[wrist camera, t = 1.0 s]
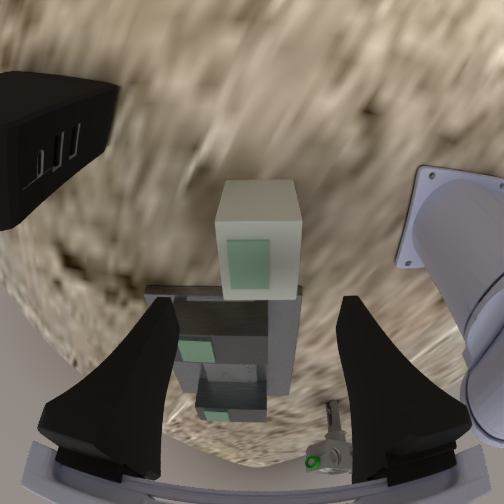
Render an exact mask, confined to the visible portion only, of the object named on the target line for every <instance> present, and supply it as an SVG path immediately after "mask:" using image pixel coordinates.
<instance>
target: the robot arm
mask: <svg viewBox="0 0 504 504" xmlns="http://www.w3.org/2000/svg"><path fill="white" fill-rule="evenodd" d="M431 172H433V174H432V176H431V177H429V174H430V173H431ZM500 184H501V185H500ZM407 261H409V262H408V263H406V262H407ZM395 263H396V265H397V267H398V268H426V269H427V271H428V272H429V274H430V276H431V277H432V279H433V281H434V283H435V284H436V286H437V288H438V290H439V292H440V293H441V295H442V297H443V299H444V301H445V303H446V305H447V306H448V308H449V310H450V312H451V314H452V316H453V318H454V320H455V322H456V324H457V326H458V328H459V330H460V332H461V334H462V337H463V339H464V341H465V343H466V348H465V350H464V352H463V354H462V355H463V357H464V360H465V362H466V365H467V367H468V370H467V372H466V373H465V375H464V378H463V380H462V384H461V388H460V401H458V400H456V399H455V398H453V397H452V396H450V395H449V394H447V393H446V392H444V391H443V390H442V389H440V388H439V387H438V386H436V385H435V384H434V383H433V382H431V381H430V380H429V379H428V378H427V377H426V376H424V375H423V374H422V373H421V372H420V371H419V370H418V369H417V368H416V367H415V366H413V365H412V364H411V362H410V361H409V360H408V359H407V358H406V357H405V356H404V355H403V354H402V353H401V352H400V351H399V350H398V348H397V347H396V346H395V345H394V344H393V343H392V341H391V340H390V339H389V338H388V336H387V335H386V334H385V332H384V331H383V330H382V329H381V327H380V326H379V325H378V323H377V322H376V321H375V319H374V318H373V316H372V315H371V314H370V312H369V311H368V309H367V308H366V307H365V305H364V304H363V302H362V301H361V299H360V298H359V297H358V296H344V297H343V301H342V305H341V309H340V313H339V317H338V321H337V325H336V335H337V344H338V351H339V355H340V359H341V364H342V368H343V372H344V377H345V381H346V385H347V390H348V395H349V402H350V412H351V425H352V484H351V485H345V486H337V487H329V488H319V489H309V490H295V491H263V492H262V491H229V490H215V489H204V488H194V487H186V486H179V485H172V484H166V483H161V482H155V481H150V480H156V479H158V478H159V477H160V476H161V469H160V468H161V460H160V459H161V434H162V422H163V412H164V404H165V398H166V392H167V388H168V384H169V380H170V376H171V372H172V368H173V365H174V361H175V357H176V353H177V348H178V341H179V333H180V327H179V323H178V320H177V317H176V313H175V310H174V307H173V303H172V300H171V297H157V298H156V299H155V300H154V301H153V303H152V304H151V305H150V307H149V308H148V309H147V311H146V312H145V313H144V315H143V316H142V317H141V319H140V320H139V321H138V322H137V324H136V325H135V326H134V327H133V329H132V330H131V331H130V332H129V334H128V335H127V336H126V337H125V338H124V340H123V341H122V342H121V343H120V344H119V345H118V347H117V348H116V349H115V350H114V351H113V352H112V353H111V354H110V355H109V356H108V357H107V358H106V359H105V360H104V361H103V362H102V363H101V364H100V365H99V366H98V367H97V368H96V369H94V370H93V371H92V372H91V373H90V374H89V375H87V376H86V377H85V378H84V379H83V380H81V381H80V382H79V383H77V384H76V385H75V386H73V387H72V388H70V389H69V390H67V391H66V392H64V393H63V394H61V395H60V396H58V397H56V398H55V399H53V400H51V401H50V402H48V403H46V405H45V407H44V409H43V412H42V415H41V418H40V421H39V424H38V427H37V428H38V431H39V432H40V433H41V434H42V435H44V436H45V437H46V438H48V439H49V440H51V441H52V442H53V443H55V444H56V445H58V446H59V448H58V451H56V450H54V449H52V448H49V447H47V446H44V445H42V444H39V443H38V442H35V441H33V442H32V445H31V448H30V451H29V455H28V458H27V462H26V465H25V469H24V473H23V477H22V481H21V486H22V487H24V488H25V489H27V490H29V491H31V492H33V493H35V494H37V495H38V496H40V497H42V498H44V499H46V500H48V501H50V502H52V503H54V504H171V503H167V502H162V501H158V500H155V499H154V498H153V497H158V498H163V499H168V500H174V501H181V502H188V503H196V504H328V503H335V502H341V501H348V500H355V499H356V500H355V501H354V502H352V503H347V504H468V503H470V502H472V501H474V500H476V499H477V498H480V497H482V496H484V495H486V494H487V493H489V492H490V491H491V485H490V480H489V475H488V470H487V466H486V461H485V457H484V453H483V449H482V446H481V445H477V446H475V447H472V448H470V449H467V450H465V451H462V452H460V453H458V454H456V455H455V453H454V449H456V447H457V445H456V442H455V441H456V440H457V439H458V438H460V437H461V436H462V435H463V434H465V433H466V432H467V431H468V430H471V431H472V432H473V434H474V435H475V436H476V437H477V438H478V439H480V440H481V441H482V442H484V443H486V444H488V445H491V446H495V447H500V448H503V449H504V178H499V177H494V176H488V175H483V174H477V173H471V172H465V171H459V170H452V169H445V168H438V167H430V166H422V167H420V168H419V169H418V172H417V176H416V181H415V186H414V191H413V195H412V200H411V204H410V209H409V213H408V217H407V221H406V225H405V229H404V233H403V236H402V240H401V244H400V247H399V251H398V254H397V257H396V261H395ZM137 477H138V478H137ZM140 478H142V479H140ZM145 479H148V480H145Z"/></svg>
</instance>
